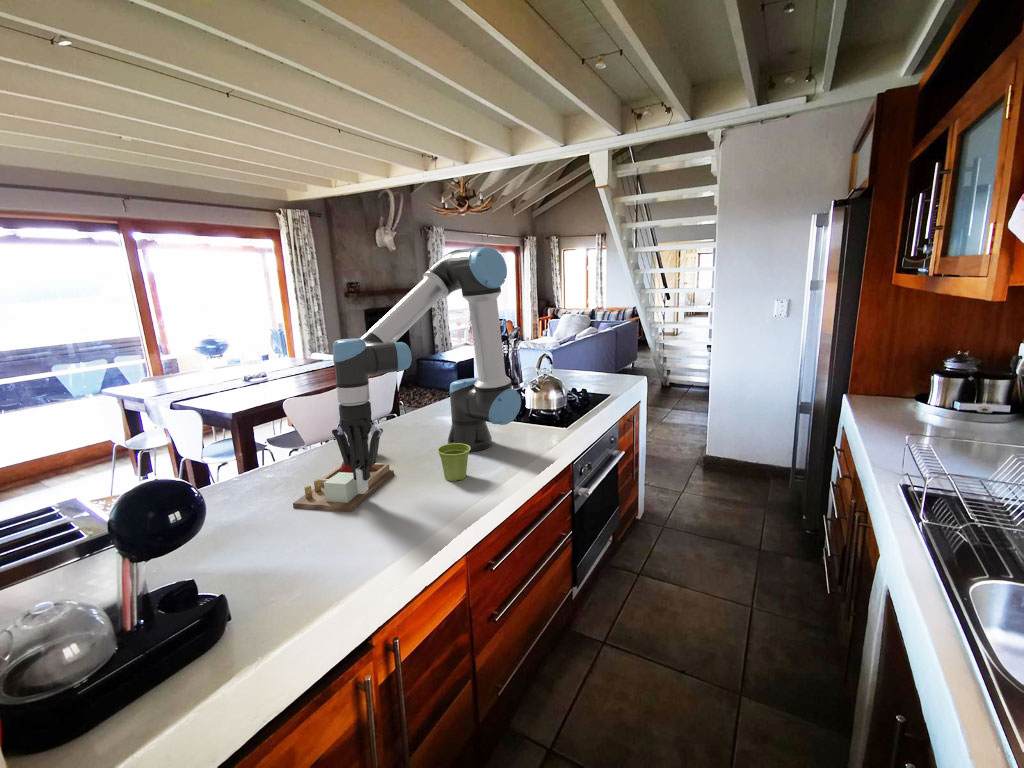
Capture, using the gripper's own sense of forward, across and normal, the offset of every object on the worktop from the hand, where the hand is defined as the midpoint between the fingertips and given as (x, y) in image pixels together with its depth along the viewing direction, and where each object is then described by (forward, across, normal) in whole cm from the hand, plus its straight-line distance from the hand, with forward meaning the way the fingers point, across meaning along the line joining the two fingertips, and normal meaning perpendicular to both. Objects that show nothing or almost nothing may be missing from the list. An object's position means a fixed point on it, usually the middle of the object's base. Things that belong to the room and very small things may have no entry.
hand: (363, 491), depth 120 cm
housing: (+1, +5, 0) cm, 5 cm away
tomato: (+2, +8, -11) cm, 14 cm away
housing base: (+3, +8, -6) cm, 11 cm away
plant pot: (+3, -19, -18) cm, 26 cm away
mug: (+3, +18, -33) cm, 38 cm away
